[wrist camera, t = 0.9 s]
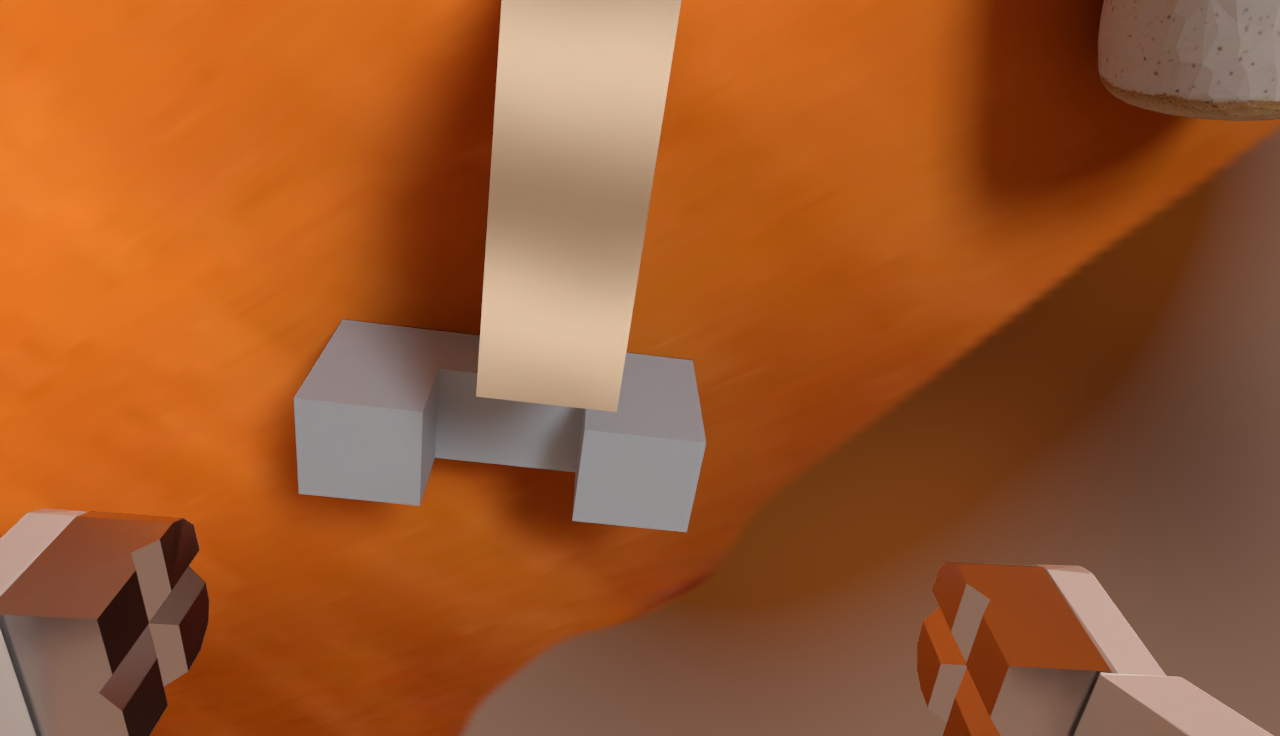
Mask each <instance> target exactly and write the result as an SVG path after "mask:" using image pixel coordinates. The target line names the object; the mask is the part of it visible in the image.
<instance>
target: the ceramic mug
mask: <svg viewBox="0 0 1280 736" xmlns="http://www.w3.org/2000/svg"><path fill="white" fill-rule="evenodd" d="M1098 75H1099V78H1100V81H1101V83H1102V84H1103V85H1104V86H1105V88H1106V89H1107V90H1108V91H1109V92H1110V93H1111V94H1112V95H1113V96H1115V97H1116V98H1118V99H1120V100H1122V101H1123V102H1125V103H1127V104H1130V105H1133V106H1136V107H1139V108H1142V109H1146V110H1151V111H1155V112H1160V113H1164V114H1169V115H1175V116H1182V117H1191V118H1200V119H1210V120H1229V121H1257V120H1275V119H1280V0H1104V3H1103V7H1102V12H1101V19H1100V26H1099V35H1098Z"/></svg>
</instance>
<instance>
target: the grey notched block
mask: <svg viewBox="0 0 1280 736" xmlns="http://www.w3.org/2000/svg"><path fill="white" fill-rule="evenodd" d="M479 343H480V335H471V334H463V333H454V332H446V331H437V330H429V329H420V328H412V327H403V326H395V325H386V324H377V323H369V322H360V321H352V320H342V322H341V323H340V325H339V326H338V328H337V330H336V331H335V333H334V334H333V336H332V338H331V339H330V341H329V342H328V344H327V346H326V347H325V349H324V350H323V352H322V354H321V355H320V357H319V358H318V360H317V362H316V363H315V365H314V366H313V368H312V370H311V371H310V373H309V374H308V376H307V378H306V379H305V381H304V382H303V384H302V386H301V387H300V389H299V390H298V392H297V394H296V395H295V397H294V415H295V433H296V452H297V471H298V489H299V494H305V495H316V496H326V497H336V498H346V499H356V500H366V501H376V502H386V503H397V504H407V505H417V506H420V504H421V501H422V497H423V494H424V491H425V488H426V485H427V482H428V478H429V475H430V472H431V469H432V466H433V462H434V459H435V458H442V459H452V460H461V461H471V462H481V463H490V464H500V465H510V466H519V467H529V468H538V469H548V470H558V471H567V472H575V487H574V501H573V516H572V521H579V522H589V523H599V524H609V525H619V526H630V527H640V528H650V529H660V530H670V531H680V532H687V528H688V524H689V519H690V514H691V510H692V505H693V501H694V496H695V492H696V487H697V483H698V478H699V473H700V469H701V464H702V460H703V455H704V451H705V446H706V439H705V433H704V426H703V420H702V414H701V408H700V402H699V396H698V390H697V384H696V377H695V371H694V365H693V360H684V359H676V358H667V357H659V356H650V355H642V354H633V353H626V357H625V363H624V369H623V376H622V382H621V389H620V395H619V401H618V408H617V412H611V411H602V410H593V409H584V408H575V407H566V406H557V405H548V404H539V403H530V402H521V401H512V400H503V399H494V398H484V397H476V389H477V374H478V358H479Z"/></svg>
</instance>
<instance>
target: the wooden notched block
mask: <svg viewBox="0 0 1280 736" xmlns="http://www.w3.org/2000/svg"><path fill="white" fill-rule="evenodd" d="M680 6H681V0H502V1H501V16H500V32H499V47H498V63H497V78H496V94H495V110H494V125H493V141H492V156H491V172H490V187H489V203H488V218H487V234H486V250H485V265H484V281H483V296H482V312H481V327H480V343H479V358H478V374H477V389H476V397H484V398H494V399H503V400H512V401H521V402H530V403H539V404H548V405H557V406H566V407H575V408H584V409H593V410H602V411H611V412H617V408H618V401H619V395H620V389H621V382H622V376H623V369H624V363H625V357H626V350H627V344H628V338H629V331H630V325H631V318H632V312H633V306H634V299H635V293H636V287H637V280H638V274H639V267H640V261H641V255H642V248H643V242H644V236H645V229H646V223H647V216H648V210H649V204H650V197H651V191H652V185H653V178H654V172H655V165H656V159H657V153H658V146H659V140H660V134H661V127H662V121H663V114H664V108H665V102H666V95H667V89H668V83H669V76H670V70H671V63H672V57H673V51H674V44H675V38H676V32H677V25H678V19H679V12H680Z"/></svg>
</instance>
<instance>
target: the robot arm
mask: <svg viewBox="0 0 1280 736" xmlns="http://www.w3.org/2000/svg"><path fill="white" fill-rule="evenodd" d="M198 552H199V545H198V541H197V537H196V533H195V529H194V525H193V524H191V523H190V522H188V521H187V520H185V519H184V518H174V517H161V516H148V515H136V514H123V513H110V512H97V511H90V512H85V511H77V510H62V509H48V508H42V509H39V510H35V511H32V512H28V513H27V514H26V515H24V516H23V517H22V518H21V519H20V520H19V521H18V522H17V523H16V524H15V525H14V526H13V527H12V528H11V529H10V530H9V531H8V532H7V533H6V534H4V535H3V536H2V537H1V538H0V736H150V734H151V732H152V731H153V729H154V727H155V726H156V724H157V722H158V721H159V719H160V717H161V716H162V714H163V713H164V711H165V709H166V708H167V706H168V704H167V700H166V695H165V691H164V686H166V685H168V684H169V683H171V682H172V681H174V680H175V679H177V678H179V677H180V676H182V675H183V674H185V673H186V672H188V671H189V669H190V667H191V666H192V664H193V662H194V660H195V659H196V657H197V655H198V653H199V651H200V650H201V646H202V643H203V639H204V636H205V632H206V629H207V625H208V617H209V598H208V592H207V586H206V583H205V582H204V581H203V580H202V579H201V578H200V577H199V576H198V575H197V574H196V573H195V572H194V571H193V570H192V569H191V568H190V567H189V565H190V563H191V562H192V560H193V559H194V557H195V556H196V554H197V553H198ZM932 590H933V593H934V595H935V597H936V599H937V601H938V604H939V606H940V608H938V609H937V610H936V611H935V612H934V613H932V614H931V615H930V616H929V617H927V618H926V619H925V620H924V621H923V624H922V628H921V632H920V636H919V641H918V645H917V646H918V647H917V671H918V676H919V681H920V686H921V690H922V693H923V696H924V698H925V701H926V704H927V707H928V708H929V709H930V710H931V711H932V712H934V713H935V714H936V715H937V716H938V717H939V718H940V719H942V720H943V721H944V722H945V723H946V727H945V730H944V734H943V736H1273V735H1272V734H1270V733H1268V732H1267V731H1265V730H1264V729H1262V728H1261V727H1259V726H1258V725H1256V724H1254V723H1252V722H1251V721H1250V720H1248V719H1246V718H1245V717H1243V716H1242V715H1240V714H1238V713H1237V712H1235V711H1234V710H1232V709H1231V708H1229V707H1227V706H1226V705H1224V704H1223V703H1221V702H1219V701H1218V700H1217V699H1215V698H1213V697H1212V696H1210V695H1209V694H1207V693H1206V692H1204V691H1202V690H1201V689H1199V688H1198V687H1196V686H1194V685H1193V684H1191V683H1190V682H1188V681H1187V680H1185V679H1183V678H1182V677H1172V676H1166V675H1165V673H1164V672H1163V671H1162V669H1161V668H1160V666H1159V665H1158V664H1157V662H1156V661H1155V660H1154V658H1153V657H1152V656H1151V654H1150V652H1149V651H1148V650H1147V648H1146V647H1145V646H1144V644H1143V643H1142V642H1141V640H1140V639H1139V637H1138V636H1137V635H1136V633H1135V632H1134V630H1133V629H1132V628H1131V626H1130V625H1129V623H1128V622H1127V621H1126V619H1125V618H1124V617H1123V615H1122V614H1121V612H1120V611H1119V610H1118V608H1117V607H1116V605H1115V604H1114V603H1113V601H1112V600H1111V599H1110V597H1109V596H1108V594H1107V593H1106V592H1105V590H1104V589H1103V588H1102V586H1101V585H1100V583H1099V582H1098V581H1097V579H1096V578H1095V576H1094V575H1093V574H1092V573H1091V572H1090V571H1088V570H1087V569H1085V568H1083V567H1081V566H1064V565H1035V566H1024V565H1005V564H986V563H985V564H984V563H965V562H947V561H946V562H945V563H944V564H943V566H942V567H941V568H940V570H939V571H938V573H937V577H936V580H935V583H934V586H933V589H932Z"/></svg>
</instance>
